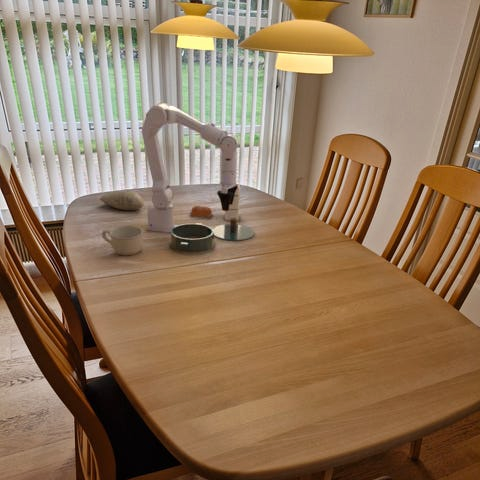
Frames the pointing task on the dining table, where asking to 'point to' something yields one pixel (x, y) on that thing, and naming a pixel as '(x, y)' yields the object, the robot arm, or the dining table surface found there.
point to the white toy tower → (233, 207)
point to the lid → (233, 231)
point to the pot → (192, 244)
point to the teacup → (125, 239)
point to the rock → (123, 200)
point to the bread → (201, 211)
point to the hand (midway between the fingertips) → (227, 207)
